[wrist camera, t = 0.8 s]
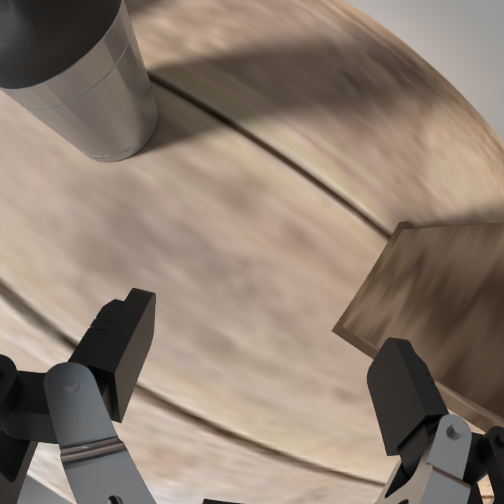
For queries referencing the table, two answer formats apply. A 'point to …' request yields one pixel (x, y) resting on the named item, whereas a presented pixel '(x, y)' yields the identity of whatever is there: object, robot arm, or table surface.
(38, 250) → the table surface
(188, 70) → the table surface
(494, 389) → the zigzag patterned block
